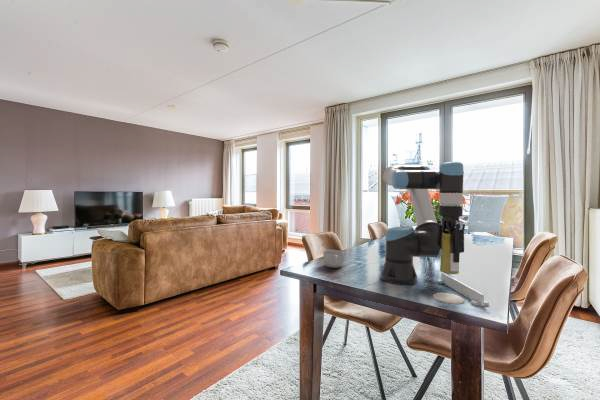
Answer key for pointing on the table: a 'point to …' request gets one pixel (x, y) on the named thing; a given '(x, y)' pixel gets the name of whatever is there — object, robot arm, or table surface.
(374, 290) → the table surface
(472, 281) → the table surface
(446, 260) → the vase
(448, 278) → the acrylic wall
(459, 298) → the coaster
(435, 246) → the robot arm
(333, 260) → the teacup
